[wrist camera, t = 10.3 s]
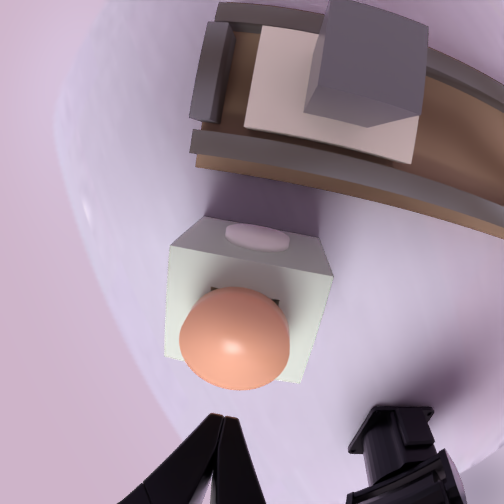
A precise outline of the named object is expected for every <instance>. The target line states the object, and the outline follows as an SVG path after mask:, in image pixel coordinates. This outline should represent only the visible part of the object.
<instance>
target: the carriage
mask: <svg viewBox="0 0 504 504" xmlns="http://www.w3.org/2000/svg"><path fill="white" fill-rule="evenodd" d="M427 50H428V26H426V25H423V24H421V23H419V22H416V21H413V20H411V19H408V18H406V17H403V16H400V15H397V14H394V13H391V12H388V11H385V10H382V9H379V8H376V7H373V6H369V5H366V4H362V3H359V2H355V1H351V0H329V3H328V7H327V10H326V13H325V16H324V20H323V23H322V26H321V29H320V33H319V34H314V33H309V32H304V31H298V30H292V29H286V28H279V27H272V26H264V25H263V26H262V31H261V36H260V41H259V46H258V51H257V56H256V62H255V67H254V72H253V78H252V83H251V89H250V94H249V100H248V105H247V111H246V117H245V122H244V127H245V128H247V129H248V130H255V131H261V132H267V133H273V134H278V135H284V136H289V137H295V138H300V139H305V140H310V141H314V142H319V143H323V144H328V145H332V146H337V147H341V148H345V149H349V150H353V151H357V152H361V153H365V154H369V155H372V156H376V157H380V158H383V159H387V160H390V161H394V162H398V163H405V164H411V162H412V156H413V151H414V145H415V139H416V133H417V127H418V120H419V115H421V112H422V104H423V96H424V87H425V77H426V65H427Z"/></svg>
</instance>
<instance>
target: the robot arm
mask: <svg viewBox="0 0 504 504" xmlns="http://www.w3.org/2000/svg"><path fill="white" fill-rule="evenodd" d="M433 414H434V410H433V408H432V407H374V408H373V409H372V410H371V411H370V413H369V415H368V417H367V418H366V420H365V422H364V423H363V425H362V427H361V428H360V430H359V431H358V433H357V435H356V436H355V438H354V439H353V441H352V443H351V444H350V446H349V447H348V452H349V453H350V454H363V455H364V460H365V466H366V472H367V478H368V484H369V487H367V488H365V489H362V490H360V491H357V492H352V493H349V494H347V500H346V504H467V501H466V496H465V491H464V487H463V483H462V480H461V478H460V475H459V473H458V471H457V468H456V466H455V464H454V462H453V461H452V459H451V458H450V456H449V454H448V453H447V451H446V450H445V448H444V449H443V450H441V451H439V453H438V454H437V452H436V449H435V446H434V444H433V443H434V442H435V440H434V437H433V435H432V432H431V430H430V427H429V425H428V421H429V420H430V418H431V417H432V415H433ZM212 473H213V475H212ZM211 477H212V483H211V499H210V504H266V502H265V499H264V496H263V493H262V490H261V487H260V484H259V481H258V478H257V475H256V472H255V469H254V466H253V463H252V460H251V457H250V454H249V451H248V448H247V444H246V441H245V438H244V435H243V432H242V428H241V425H240V422H239V419H238V418H235V417H230V416H225V417H224V416H223V415H220V414H215V413H210V414H209V415H208V416H207V417H206V418H205V419H204V420H203V421H202V422H201V423H200V425H199V426H198V427H197V428H196V429H195V430H194V431H193V432H192V433H191V434H190V435H189V436H188V437H187V438H186V439H185V440H184V441H183V442H182V443H181V444H180V445H179V447H178V448H177V449H176V450H175V451H174V452H173V453H172V454H171V455H170V456H169V457H168V458H167V459H166V460H165V461H164V462H163V463H162V464H161V465H160V466H159V467H158V468H157V469H156V470H155V471H153V473H151V474H150V475H149V476H148V477H147V478H146V479H145V480H144V481H143V483H141V484H140V485H139V486H138V487H137V488H136V489H134V490H133V491H132V492H131V493H130V494H129V495H128V496H126V497H125V498H124V499H123V500H122V501H120V502H119V503H117V504H202V501H203V498H204V496H205V493H206V491H207V488H208V486H209V483H210V480H211Z"/></svg>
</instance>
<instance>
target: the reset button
mask: <svg viewBox="0 0 504 504" xmlns="http://www.w3.org/2000/svg"><path fill="white" fill-rule="evenodd" d="M179 346H180V351H181V354H182V356H183V358H184V360H185V362H186V363H187V365H188V366H189V367H190V369H191V370H192V371H193V372H194V373H195V374H196V375H198V376H199V377H200V378H202V379H203V380H205V381H207V382H208V383H211V384H213V385H215V386H218V387H221V388H225V389H230V390H250V389H255V388H259V387H262V386H264V385H266V384H268V383H270V382H272V381H273V380H274V379H276V378H277V377H278V376H279V375H280V374H281V373H282V371H283V370H284V368H285V367H286V365H287V362H288V359H289V355H290V331H289V325H288V322H287V319H286V317H285V315H284V313H283V312H282V310H281V309H280V308H279V306H278V305H277V304H276V303H275V302H274V301H272V300H271V299H270V298H268V297H267V296H265V295H264V294H262V293H260V292H257V291H255V290H252V289H248V288H243V287H224V288H219V289H216V290H213V291H211V292H209V293H207V294H205V295H204V296H202V297H201V298H200V299H199V300H198V301H197V302H196V303H195V304H194V305H193V307H192V308H191V310H190V312H189V314H188V316H187V317H186V319H185V321H184V323H183V325H182V327H181V330H180V334H179Z"/></svg>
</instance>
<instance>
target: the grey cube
mask: <svg viewBox="0 0 504 504" xmlns="http://www.w3.org/2000/svg"><path fill="white" fill-rule="evenodd" d="M333 278H334V276H333V273H332V271H331V268H330V265H329V263H328V260H327V257H326V255H325V252H324V250H323V247H322V245H321V242H320V240H319V238H317V237H312V236H307V235H302V234H297V233H291V232H286V231H281V230H276V229H272V228H269V227H264V226H259V225H253V224H244V223H238V222H233V221H227V220H221V219H216V218H210V217H204V216H203V217H202V218H201V219H200V220H199V221H197V222H196V223H195V224H194V225H193V226H191V227H190V228H189V229H188V230H187V231H186V232H184V233H183V234H182V235H181V236H180V237H179V238H178V239H176V240H175V241H174V242H173V243H172V244H171V245H170V248H169V261H168V275H167V292H166V313H165V345H164V356H165V357H168V358H172V359H176V360H180V361H184V362H185V360H184V358H183V356H182V354H181V351H180V346H179V334H180V330H181V327H182V325H183V323H184V321H185V319H186V317H187V316H188V314H189V312H190V310H191V308H192V307H193V305H194V304H195V303H196V302H197V301H198V300H199V299H200V298H201V297H202V296H204V295H205V294H207V293H209V292H211V291H213V290H216V289H219V288H224V287H243V288H248V289H252V290H255V291H257V292H260V293H262V294H264V295H265V296H267V297H268V298H270V299H271V300H272V301H274V302H275V303H276V304H277V305H278V306H279V308H280V309H281V310H282V312H283V313H284V315H285V317H286V319H287V322H288V325H289V331H290V355H289V359H288V362H287V365H286V367H285V368H284V370H283V371H282V373H281V374H280V375H279V376H278V377H277V378H276V379H274V380H278V381H285V382H291V383H298V384H300V382H301V379H302V377H303V374H304V371H305V368H306V365H307V362H308V359H309V356H310V353H311V350H312V347H313V344H314V341H315V338H316V335H317V332H318V328H319V325H320V322H321V319H322V315H323V312H324V309H325V305H326V302H327V299H328V295H329V292H330V288H331V285H332V281H333Z"/></svg>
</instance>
